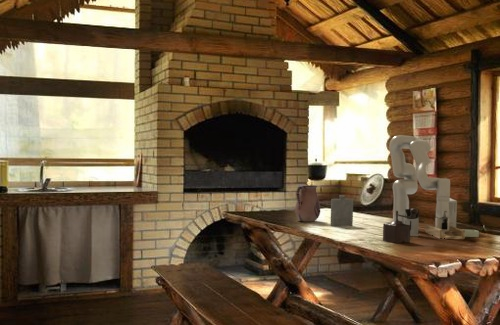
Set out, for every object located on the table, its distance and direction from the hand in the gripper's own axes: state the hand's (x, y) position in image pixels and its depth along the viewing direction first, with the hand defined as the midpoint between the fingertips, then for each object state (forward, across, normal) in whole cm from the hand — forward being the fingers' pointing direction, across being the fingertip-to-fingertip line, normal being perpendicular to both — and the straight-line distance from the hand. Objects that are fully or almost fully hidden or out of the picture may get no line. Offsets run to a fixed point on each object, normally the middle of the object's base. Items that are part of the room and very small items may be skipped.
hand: (442, 228), depth 338 cm
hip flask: (+4, -32, -55) cm, 64 cm away
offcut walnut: (+2, +9, 0) cm, 10 cm away
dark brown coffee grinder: (+4, +34, -34) cm, 49 cm away
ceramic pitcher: (+4, -52, -76) cm, 92 cm away
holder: (+4, +2, +14) cm, 15 cm away
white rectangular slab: (+4, 0, 0) cm, 4 cm away
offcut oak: (+4, +9, 0) cm, 10 cm away
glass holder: (+4, +8, -22) cm, 24 cm away
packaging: (+4, -26, +12) cm, 29 cm away
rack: (+4, +4, 0) cm, 6 cm away
